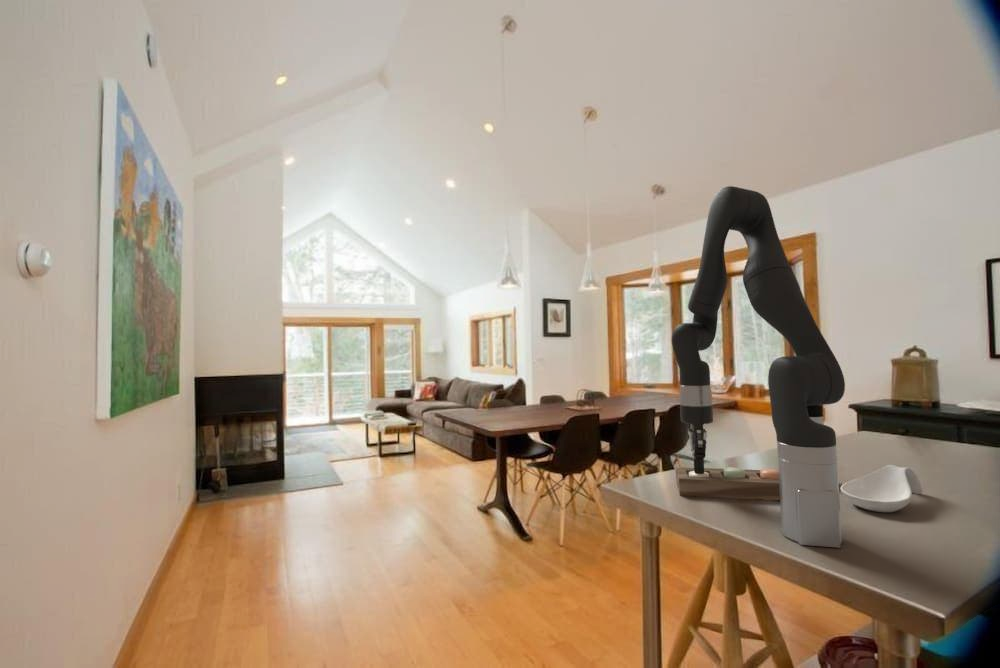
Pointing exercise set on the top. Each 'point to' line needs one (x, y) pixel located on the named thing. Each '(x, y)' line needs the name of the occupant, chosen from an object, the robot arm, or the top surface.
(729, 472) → the sage button
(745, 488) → the button panel
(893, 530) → the top surface
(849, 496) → the spoon rest
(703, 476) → the cream button
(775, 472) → the terracotta button
